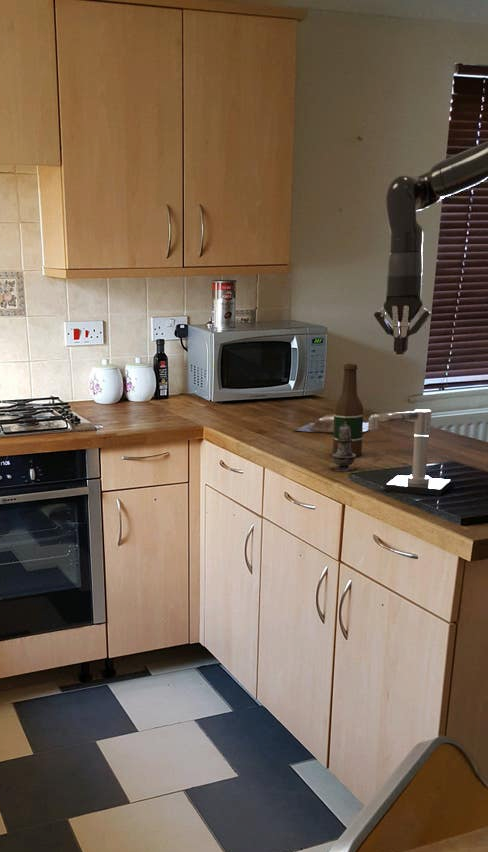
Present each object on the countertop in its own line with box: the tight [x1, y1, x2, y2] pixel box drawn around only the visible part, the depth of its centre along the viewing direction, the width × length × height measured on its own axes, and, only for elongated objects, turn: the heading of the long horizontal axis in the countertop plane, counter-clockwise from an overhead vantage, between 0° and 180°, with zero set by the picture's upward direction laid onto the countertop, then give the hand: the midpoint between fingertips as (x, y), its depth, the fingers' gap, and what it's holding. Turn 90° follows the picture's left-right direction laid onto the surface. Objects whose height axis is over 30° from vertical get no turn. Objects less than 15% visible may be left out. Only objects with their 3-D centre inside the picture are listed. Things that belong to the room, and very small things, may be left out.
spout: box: [367, 408, 433, 436], centre depth 192 cm, size 14×4×5 cm, turn 101°
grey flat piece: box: [296, 413, 370, 434], centre depth 278 cm, size 21×20×4 cm
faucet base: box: [385, 434, 451, 497], centre depth 196 cm, size 12×10×12 cm
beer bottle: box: [332, 363, 364, 458], centre depth 233 cm, size 8×8×24 cm
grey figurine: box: [331, 421, 357, 472], centre depth 217 cm, size 6×6×12 cm
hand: (400, 354), depth 200 cm, fingers closed
